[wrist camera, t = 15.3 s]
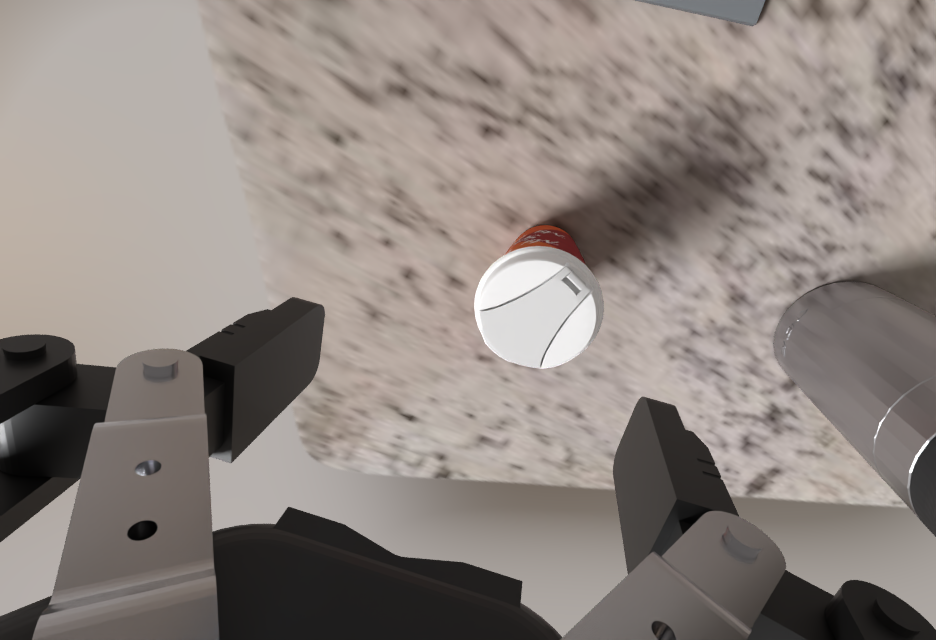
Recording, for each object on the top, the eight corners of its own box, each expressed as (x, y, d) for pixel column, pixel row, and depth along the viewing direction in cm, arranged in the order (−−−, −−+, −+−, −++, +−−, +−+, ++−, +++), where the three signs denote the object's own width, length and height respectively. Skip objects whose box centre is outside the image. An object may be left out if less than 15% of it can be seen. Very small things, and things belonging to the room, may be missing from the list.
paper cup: (545, 191, 39) (537, 222, 26) (611, 258, 40) (635, 320, 27) (478, 258, 42) (442, 315, 29) (542, 319, 43) (533, 400, 30)
